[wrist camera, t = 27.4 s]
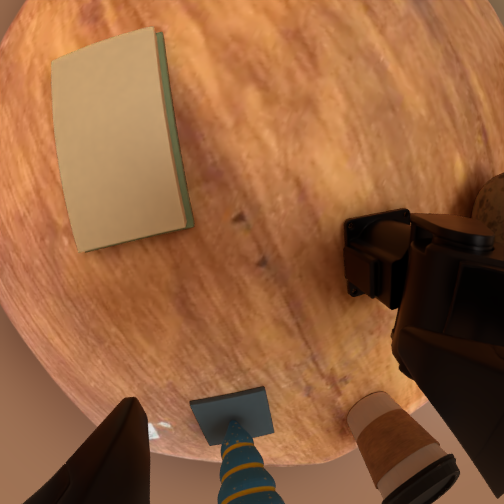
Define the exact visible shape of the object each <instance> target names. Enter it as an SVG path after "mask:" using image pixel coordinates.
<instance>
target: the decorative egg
mask: <svg viewBox="0 0 504 504" xmlns="http://www.w3.org/2000/svg"><path fill="white" fill-rule="evenodd" d="M472 219H476V220H480V221H481V222H482V223H483V224H484V225H486V226H487V227H488V228H489V229H490V230H491V231H492V232H494V234H495V239H494V242H498V243H502V244H504V173H501V174H499V175H497V176H495V177H493V178H492V179H491V180H489V181H488V182H487V183H486V184H485V185H484V186H483V188H482V189H481V190H480V192H479V193H478V195H477V198H476V200H475V203H474V206H473V210H472Z"/></svg>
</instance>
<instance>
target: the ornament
mask: <svg viewBox="0 0 504 504" xmlns="http://www.w3.org/2000/svg"><path fill="white" fill-rule="evenodd" d="M221 457H222V460H223V461H222V465H221V469H220V481H221V484H222V485H221V488H220V491H219V494H218V504H285V503H284V501H283V499H282V498H281V497H280V496H279V494H278V493H277V492H276V491H275V487H276V485H275V481H274V479H273V477H272V476H271V475H270V474H269V473H268V472H267V471H266V470H265V469H264V467H263V466H264V462H263V458H262V456H261V455H260V453H259V452H258V450H257V449H256V447H255V446H254V442H253V439H252V437H251V435H250V434H249V433H248V432H247V431H246V430H245V429H244V428H242V427H241V426H240V424H239V423H238V422H237V421H235V420H232V421H231V422H230V423H229V426H228V429H227V432H226V434H225V437H224V440H223V443H222V446H221Z"/></svg>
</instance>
